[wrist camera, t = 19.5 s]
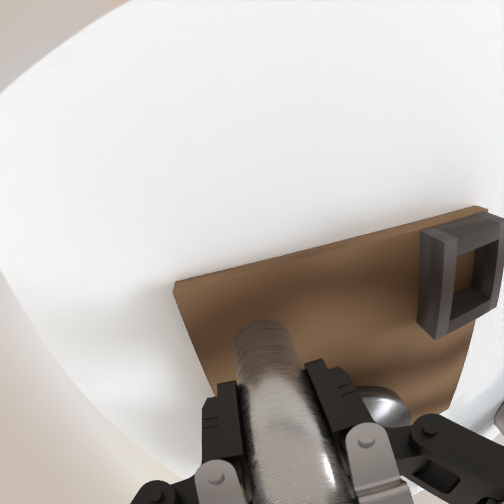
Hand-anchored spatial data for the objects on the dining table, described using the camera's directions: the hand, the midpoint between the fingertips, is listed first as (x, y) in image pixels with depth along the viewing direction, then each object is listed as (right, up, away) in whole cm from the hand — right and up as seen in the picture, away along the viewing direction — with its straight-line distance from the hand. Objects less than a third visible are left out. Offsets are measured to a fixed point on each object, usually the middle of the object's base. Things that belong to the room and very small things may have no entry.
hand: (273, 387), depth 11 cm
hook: (0, +1, +3) cm, 3 cm away
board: (+7, -3, +8) cm, 11 cm away
